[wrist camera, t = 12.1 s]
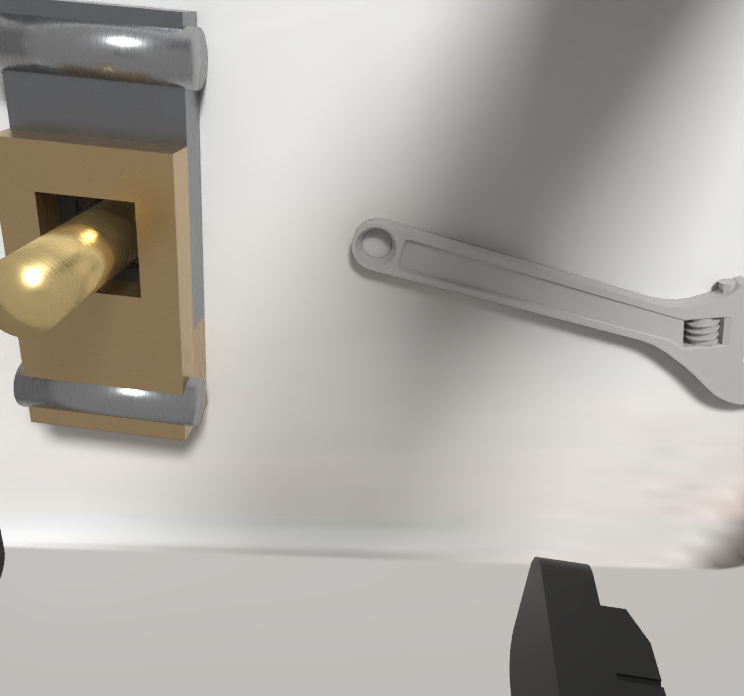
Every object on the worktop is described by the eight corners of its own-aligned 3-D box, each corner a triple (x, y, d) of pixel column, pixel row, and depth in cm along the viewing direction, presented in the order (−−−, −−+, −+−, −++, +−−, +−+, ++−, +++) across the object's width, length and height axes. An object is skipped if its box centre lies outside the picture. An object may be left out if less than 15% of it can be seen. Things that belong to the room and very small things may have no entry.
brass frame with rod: (5, -7, 34) (-52, -8, 30) (206, 12, 34) (174, 13, 30) (57, 386, 44) (19, 424, 40) (214, 406, 44) (191, 445, 40)
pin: (92, 192, 38) (-30, 257, 29) (153, 198, 38) (51, 266, 28) (97, 251, 40) (-16, 333, 30) (156, 258, 40) (61, 342, 30)
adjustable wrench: (347, 255, 39) (343, 265, 38) (385, 143, 36) (382, 149, 35) (760, 403, 40) (772, 419, 39) (827, 305, 38) (844, 319, 36)
